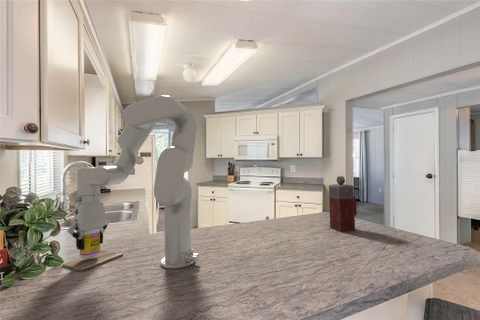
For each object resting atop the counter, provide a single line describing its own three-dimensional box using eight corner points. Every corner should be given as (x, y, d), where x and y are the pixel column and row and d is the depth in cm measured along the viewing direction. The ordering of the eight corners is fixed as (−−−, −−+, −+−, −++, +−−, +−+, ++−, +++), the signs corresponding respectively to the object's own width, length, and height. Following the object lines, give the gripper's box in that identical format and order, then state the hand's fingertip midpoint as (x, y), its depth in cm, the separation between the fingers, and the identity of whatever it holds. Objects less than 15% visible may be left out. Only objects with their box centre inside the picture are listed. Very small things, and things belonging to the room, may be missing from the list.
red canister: (359, 230, 126) (357, 176, 127) (340, 232, 124) (338, 176, 124) (348, 226, 135) (346, 175, 135) (329, 227, 132) (328, 176, 133)
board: (123, 255, 98) (123, 253, 98) (82, 272, 84) (82, 269, 84) (103, 251, 104) (103, 249, 104) (62, 266, 89) (62, 264, 89)
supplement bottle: (90, 259, 90) (90, 224, 90) (75, 258, 91) (74, 223, 91) (104, 252, 96) (103, 219, 96) (90, 251, 97) (89, 219, 98)
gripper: (71, 203, 84) (72, 255, 84) (116, 196, 100) (117, 240, 100) (58, 202, 88) (59, 252, 87) (104, 196, 103) (105, 238, 103)
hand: (90, 245), depth 93 cm, fingers closed on supplement bottle, 6 cm apart
